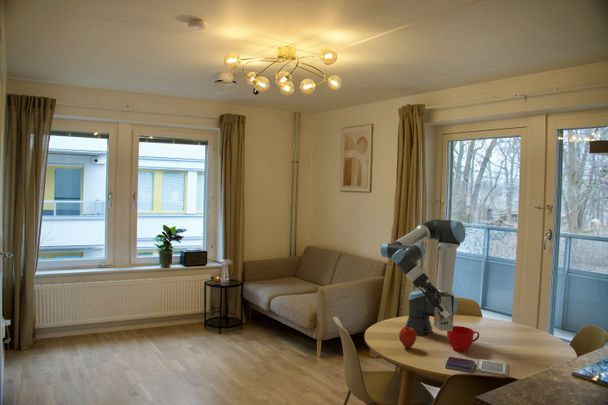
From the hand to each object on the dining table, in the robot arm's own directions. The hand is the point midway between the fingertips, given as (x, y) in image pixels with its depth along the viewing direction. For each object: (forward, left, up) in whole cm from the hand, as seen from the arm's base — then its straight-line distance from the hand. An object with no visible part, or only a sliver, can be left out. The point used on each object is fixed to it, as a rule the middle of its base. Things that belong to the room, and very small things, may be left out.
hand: (450, 313), depth 221 cm
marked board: (+19, +3, -23) cm, 30 cm away
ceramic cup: (+4, +24, -24) cm, 34 cm away
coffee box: (-3, 0, -7) cm, 8 cm away
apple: (-22, +12, -24) cm, 34 cm away
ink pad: (+5, -1, -23) cm, 24 cm away
